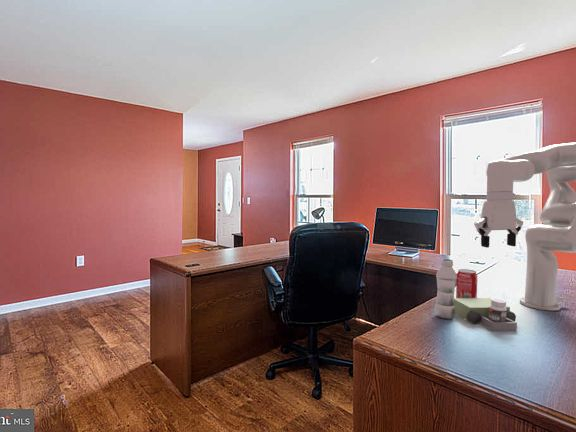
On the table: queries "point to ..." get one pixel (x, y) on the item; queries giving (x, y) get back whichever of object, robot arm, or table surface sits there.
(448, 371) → the table surface
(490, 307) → the pill bottle
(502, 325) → the cart
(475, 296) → the soda can
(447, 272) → the metal bottle
